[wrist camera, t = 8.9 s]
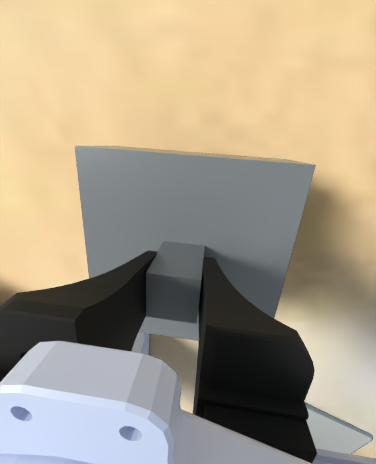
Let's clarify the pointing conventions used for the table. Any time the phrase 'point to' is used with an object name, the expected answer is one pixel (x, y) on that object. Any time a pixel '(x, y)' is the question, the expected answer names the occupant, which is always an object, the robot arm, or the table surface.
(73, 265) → the table surface
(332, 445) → the smartphone
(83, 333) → the robot arm
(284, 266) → the gray square knob slab
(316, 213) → the table surface
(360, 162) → the table surface
